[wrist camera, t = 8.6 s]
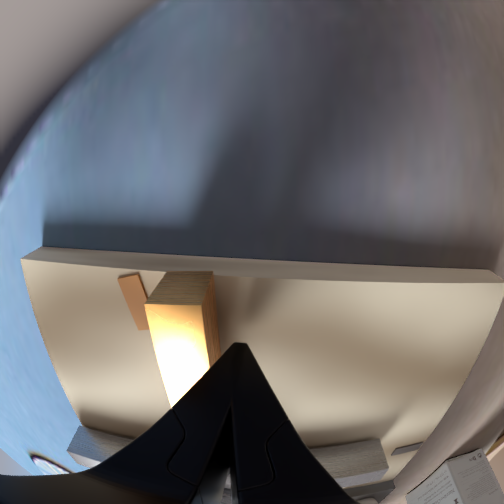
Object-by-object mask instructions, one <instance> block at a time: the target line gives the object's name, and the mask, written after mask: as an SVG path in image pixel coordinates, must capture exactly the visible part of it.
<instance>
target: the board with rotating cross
mask: <svg viewBox="0 0 504 504" xmlns="http://www.w3.org/2000/svg"><path fill="white" fill-rule="evenodd" d="M21 264H22V268H23V273H24V277H25V281H26V286H27V289H28V293H29V297H30V301H31V304H32V308H33V311H34V314H35V317H36V321H37V324H38V327H39V330H40V333H41V335H42V338H43V341H44V344H45V346H46V349H47V352H48V354H49V357H50V359H51V362H52V364H53V367H54V369H55V371H56V374H57V376H58V378H59V380H60V382H61V385H62V387H63V389H64V391H65V393H66V395H67V397H68V399H69V401H70V403H71V405H72V407H73V409H74V411H75V413H76V415H77V417H78V418H79V420H80V422H81V424H82V426H83V427H86V428H90V429H93V430H97V431H101V432H105V433H109V434H113V435H117V436H121V437H126V438H131V439H136V438H137V437H139V436H140V435H141V434H142V433H144V432H145V431H146V430H148V429H149V428H150V427H151V426H152V425H153V424H155V423H156V422H157V421H158V420H159V419H160V418H161V417H162V416H163V415H164V414H165V413H166V412H167V411H168V410H169V409H172V407H171V404H170V401H169V398H168V394H167V391H166V388H165V385H164V381H163V378H162V374H161V371H160V367H159V364H158V360H157V356H156V352H155V348H154V344H153V340H152V336H151V332H150V328H149V324H148V319H147V315H146V310H145V305H144V304H145V302H146V301H147V299H148V298H149V296H150V295H151V293H152V292H153V290H154V289H155V288H156V286H157V285H158V283H159V282H160V280H161V279H162V278H163V276H164V275H165V273H166V272H167V271H213V272H214V284H215V296H216V307H217V318H218V328H219V338H220V347H221V356H222V354H223V353H224V352H225V351H226V350H227V349H228V348H229V347H230V346H231V345H232V344H233V343H234V342H242V343H247V344H248V345H249V347H250V349H251V351H252V353H253V355H254V357H255V358H256V360H257V362H258V364H259V366H260V368H261V370H262V371H263V373H264V375H265V377H266V379H267V380H268V382H269V384H270V386H271V388H272V389H273V391H274V393H275V395H276V397H277V398H278V400H279V402H280V404H281V405H282V407H283V409H284V411H285V412H286V414H287V416H288V418H289V420H290V421H291V423H292V424H293V426H294V428H295V429H296V431H297V433H298V434H299V436H300V437H301V439H302V440H303V442H304V443H305V445H306V446H307V447H308V448H309V449H311V448H321V447H329V446H337V445H344V444H351V443H357V442H363V441H368V440H374V439H379V438H380V441H381V444H382V447H383V450H384V454H385V457H386V460H387V463H388V466H389V469H388V471H387V472H386V473H385V475H384V476H383V477H382V479H381V480H378V481H374V482H369V483H365V484H360V485H355V486H349V487H344V488H343V489H344V490H345V491H346V492H347V493H348V494H349V495H350V496H351V497H352V498H353V499H355V500H356V501H358V502H359V503H361V504H379V503H380V502H381V501H382V500H383V499H384V498H385V497H386V496H387V495H388V494H389V493H390V492H391V491H393V490H394V489H395V485H394V482H393V479H394V478H395V477H396V476H397V475H398V474H399V472H400V471H401V470H402V469H403V468H404V467H405V466H406V464H407V463H408V462H409V461H410V460H411V459H412V457H413V456H414V455H415V454H416V452H417V451H418V450H419V449H420V447H421V446H422V445H423V444H424V442H425V441H426V440H427V438H428V437H429V436H430V434H431V433H432V432H433V430H434V429H435V427H436V426H437V425H438V423H439V422H440V420H441V419H442V417H443V416H444V414H445V413H446V411H447V410H448V408H449V407H450V405H451V404H452V402H453V401H454V399H455V397H456V396H457V394H458V392H459V391H460V389H461V387H462V386H463V384H464V382H465V380H466V379H467V377H468V375H469V373H470V371H471V369H472V367H473V366H474V364H475V362H476V360H477V358H478V356H479V354H480V352H481V350H482V347H483V345H484V343H485V341H486V339H487V337H488V334H489V332H490V330H491V327H492V325H493V323H494V320H495V318H496V315H497V313H498V310H499V307H500V305H501V302H502V299H503V296H504V280H503V279H502V278H500V277H499V276H497V275H496V274H495V273H493V272H492V271H490V270H483V269H456V268H431V267H407V266H384V265H362V264H340V263H319V262H299V261H279V260H260V259H241V258H222V257H204V256H187V255H169V254H152V253H135V252H119V251H103V250H87V249H71V248H56V247H40V248H38V249H36V250H35V251H33V252H31V253H29V254H28V255H26V256H24V257H23V258H21Z"/></svg>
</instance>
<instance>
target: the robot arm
mask: <svg viewBox="0 0 504 504" xmlns="http://www.w3.org/2000/svg"><path fill="white" fill-rule="evenodd" d="M229 468H230V484H231V501H232V504H361V503H359V502H358V501H356V500H355V499H353V498H352V497H351V496H350V495H349V494H348V493H347V492H346V491H345V490H344V489H343V488H342V487H341V486H340V485H339V484H338V483H337V482H336V480H335V479H334V478H333V477H332V476H331V475H330V474H329V473H328V471H327V470H326V469H325V468H324V467H323V466H322V464H321V463H320V462H319V461H318V460H317V459H316V457H315V456H314V455H313V454H312V452H311V451H310V450H309V448H308V447H307V446H306V445H305V443H304V442H303V440H302V439H301V437H300V436H299V434H298V433H297V431H296V429H295V428H294V426H293V424H292V423H291V421H290V420H289V418H288V416H287V414H286V412H285V411H284V409H283V407H282V405H281V404H280V402H279V400H278V398H277V397H276V395H275V393H274V391H273V389H272V388H271V386H270V384H269V382H268V380H267V379H266V377H265V375H264V373H263V371H262V370H261V368H260V366H259V364H258V362H257V360H256V358H255V357H254V355H253V353H252V351H251V349H250V347H249V345H248V344H247V343H242V342H234V343H233V344H232V345H231V346H230V347H229V348H228V349H227V350H226V351H225V352H224V353H223V354H222V356H221V357H220V358H219V359H218V360H217V361H216V362H215V363H214V364H213V365H212V366H211V367H210V368H209V369H208V370H207V371H206V372H205V374H204V375H203V376H202V377H201V378H200V379H199V380H198V381H197V382H196V383H195V384H194V385H193V386H192V387H191V388H190V389H189V390H188V391H187V392H186V393H185V394H184V395H183V396H182V397H181V398H180V399H179V400H178V401H177V402H176V403H175V404H174V405H173V406H172V409H169V410H168V411H167V412H166V413H165V414H164V415H163V416H162V417H161V418H160V419H159V420H158V421H157V422H156V423H155V424H153V425H152V426H151V427H150V428H149V429H148V430H146V431H145V432H144V433H142V434H141V435H140V436H139V437H137V438H136V439H135V440H133V441H132V442H130V443H129V444H128V445H126V446H125V447H123V448H122V449H120V450H119V451H118V452H116V453H115V454H113V455H112V456H110V457H109V458H107V459H106V460H104V461H103V462H101V463H100V464H98V465H96V466H94V467H92V468H90V469H88V470H85V471H82V472H78V473H70V474H58V475H39V476H10V475H1V474H0V504H220V503H221V499H222V495H223V491H224V488H225V484H226V480H227V476H228V472H229Z"/></svg>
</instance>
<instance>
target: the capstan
mask: <svg viewBox="0 0 504 504" xmlns="http://www.w3.org/2000/svg"><path fill="white" fill-rule="evenodd" d="M144 305H145V310H146V315H147V319H148V324H149V328H150V332H151V336H152V340H153V344H154V348H155V352H156V356H157V360H158V364H159V367H160V371H161V374H162V378H163V381H164V385H165V388H166V391H167V394H168V398H169V401H170V404H171V407H172V406H173V405H174V404H175V403H176V402H177V401H178V400H179V399H180V398H181V397H182V396H183V395H184V394H185V393H186V392H187V391H188V390H189V389H190V388H191V387H192V386H193V385H194V384H195V383H196V382H197V381H198V380H199V379H200V378H201V377H202V376H203V375H204V374H205V372H206V371H207V370H208V369H209V368H210V367H211V366H212V365H213V364H214V363H215V362H216V361H217V360H218V359H219V358H220V357H221V347H220V338H219V328H218V318H217V307H216V296H215V284H214V272H213V271H167V272H166V273H165V275H164V276H163V278H162V279H161V280H160V282H159V283H158V285H157V286H156V288H155V289H154V290H153V292H152V293H151V295H150V296H149V298H148V299H147V301H146V302H145V304H144ZM133 440H135V439H131V438H126V437H121V436H117V435H113V434H109V433H105V432H101V431H97V430H93V429H90V428H86V427H83V426H79V427H78V429H77V431H76V433H75V435H74V437H73V439H72V441H71V443H70V445H69V447H68V449H67V452H68V453H69V454H70V455H71V457H72V458H73V459H74V460H75V461H76V462H77V464H80V465H83V466H86V467H89V468H92V467H94V466H96V465H98V464H100V463H101V462H103V461H104V460H106V459H107V458H109V457H110V456H112V455H113V454H115V453H116V452H118V451H119V450H120V449H122V448H123V447H125V446H126V445H128V444H129V443H130V442H132V441H133ZM309 450H310V451H311V452H312V454H313V455H314V456H315V457H316V459H317V460H318V461H319V462H320V463H321V464H322V466H323V467H324V468H325V469H326V470H327V471H328V473H329V474H330V475H331V476H332V477H333V478H334V479H335V480H336V482H337V483H338V484H339V485H340V486H341V487H342V488H344V487H349V486H355V485H360V484H365V483H369V482H374V481H378V480H381V479H382V477H383V476H384V475H385V473H386V472H387V471H388V469H389V466H388V463H387V460H386V457H385V454H384V450H383V447H382V444H381V441H380V438H379V439H374V440H368V441H363V442H357V443H351V444H344V445H337V446H329V447H321V448H311V449H309ZM220 504H232V501H231V484H230V468H229V472H228V476H227V480H226V484H225V488H224V491H223V495H222V499H221V503H220Z"/></svg>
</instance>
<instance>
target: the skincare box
mask: <svg viewBox="0 0 504 504" xmlns="http://www.w3.org/2000/svg"><path fill="white" fill-rule="evenodd" d="M406 500H407V504H504V494H503V492H502V489H501V487H500V485H499V483H498V481H497V479H496V476H495V474H494V472H493V470H492V468H491V466H490V464H489V462H488V460H487V458H486V456H485V454H484V452H483V450H482V449H478V450H476V451H474V452H471V453H468V454H465V455H462V456H458V457H455V458H452V459H449V460H446V461H445V462H444V463H443V464H442V465H441V466H440V467H439V468H438V469H437V470H436V471H435V472H434V473H433V474H432V475H431V476H430V477H429V478H427V479H426V480H425V481H424V482H423V483H422V484H421V485H419V486H418V487H417V488H416V489H414V490H413V491H411V492H410V493H409V494H407V495H406Z"/></svg>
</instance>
